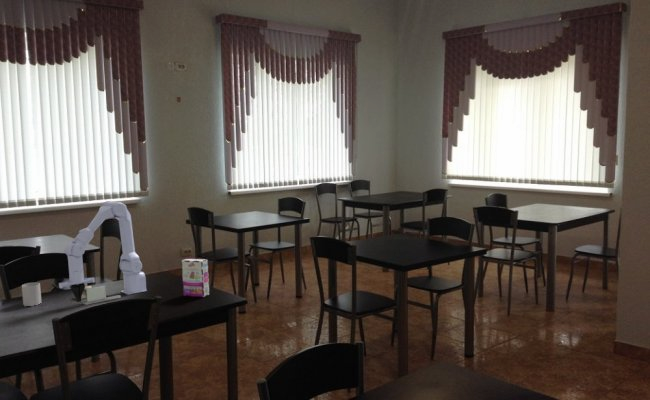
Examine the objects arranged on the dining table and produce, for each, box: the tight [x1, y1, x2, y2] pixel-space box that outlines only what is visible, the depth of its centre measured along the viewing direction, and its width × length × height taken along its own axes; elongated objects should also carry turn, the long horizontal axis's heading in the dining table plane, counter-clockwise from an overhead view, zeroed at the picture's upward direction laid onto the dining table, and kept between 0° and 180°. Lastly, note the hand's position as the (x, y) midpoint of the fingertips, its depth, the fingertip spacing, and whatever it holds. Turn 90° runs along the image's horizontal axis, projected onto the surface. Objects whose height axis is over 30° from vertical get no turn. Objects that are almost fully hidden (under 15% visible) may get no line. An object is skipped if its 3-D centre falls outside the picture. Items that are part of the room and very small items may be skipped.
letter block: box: [81, 285, 92, 300], centre depth 273 cm, size 4×5×4 cm
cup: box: [21, 282, 42, 307], centre depth 264 cm, size 7×10×9 cm
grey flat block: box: [85, 285, 107, 302], centre depth 264 cm, size 8×1×6 cm, turn 131°
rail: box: [82, 294, 122, 306], centre depth 266 cm, size 16×2×1 cm, turn 131°
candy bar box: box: [181, 258, 210, 298], centre depth 270 cm, size 11×5×16 cm, turn 68°
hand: (78, 301), depth 259 cm, fingers closed
